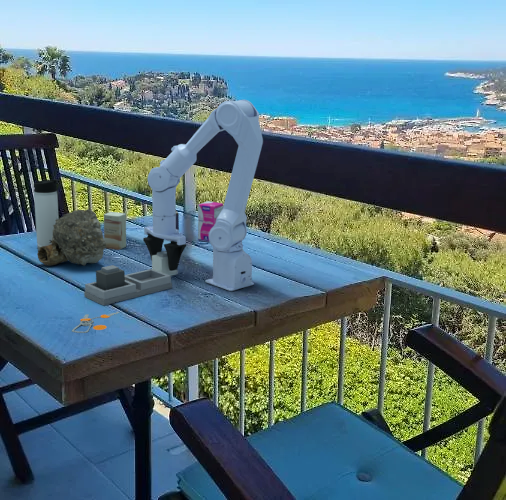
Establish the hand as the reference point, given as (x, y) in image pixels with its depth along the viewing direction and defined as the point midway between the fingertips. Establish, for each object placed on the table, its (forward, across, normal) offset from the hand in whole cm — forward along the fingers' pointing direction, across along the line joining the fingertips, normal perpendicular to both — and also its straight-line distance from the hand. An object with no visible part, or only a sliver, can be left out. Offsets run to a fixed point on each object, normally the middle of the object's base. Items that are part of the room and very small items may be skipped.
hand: (164, 266), depth 172 cm
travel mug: (+2, +41, +10) cm, 42 cm away
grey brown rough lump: (+2, +24, +13) cm, 27 cm away
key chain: (+2, -17, +31) cm, 35 cm away
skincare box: (+2, +30, -5) cm, 30 cm away
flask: (+2, +28, -24) cm, 37 cm away
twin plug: (+1, -6, +20) cm, 21 cm away
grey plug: (+2, 0, 0) cm, 2 cm away
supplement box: (+2, +19, -32) cm, 37 cm away
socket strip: (+2, -6, +15) cm, 16 cm away
